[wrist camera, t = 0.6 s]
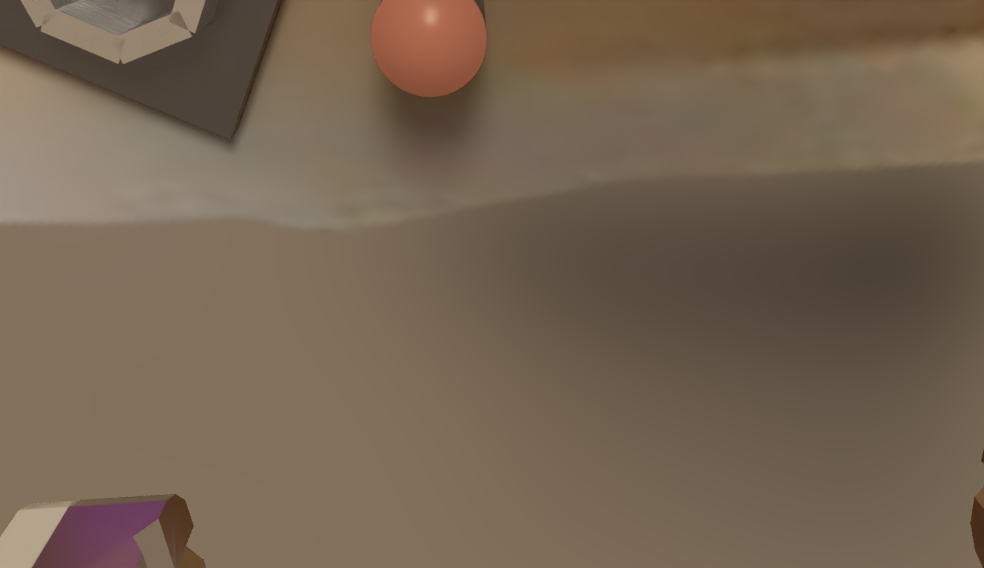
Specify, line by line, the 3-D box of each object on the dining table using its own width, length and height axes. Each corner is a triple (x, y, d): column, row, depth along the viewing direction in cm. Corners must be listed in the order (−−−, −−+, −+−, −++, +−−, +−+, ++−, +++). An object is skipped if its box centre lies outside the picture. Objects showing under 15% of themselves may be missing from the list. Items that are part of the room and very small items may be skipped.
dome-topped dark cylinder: (408, -61, 43) (396, -42, 36) (499, -17, 44) (505, 10, 37) (372, 33, 45) (353, 68, 38) (459, 72, 46) (458, 114, 38)
